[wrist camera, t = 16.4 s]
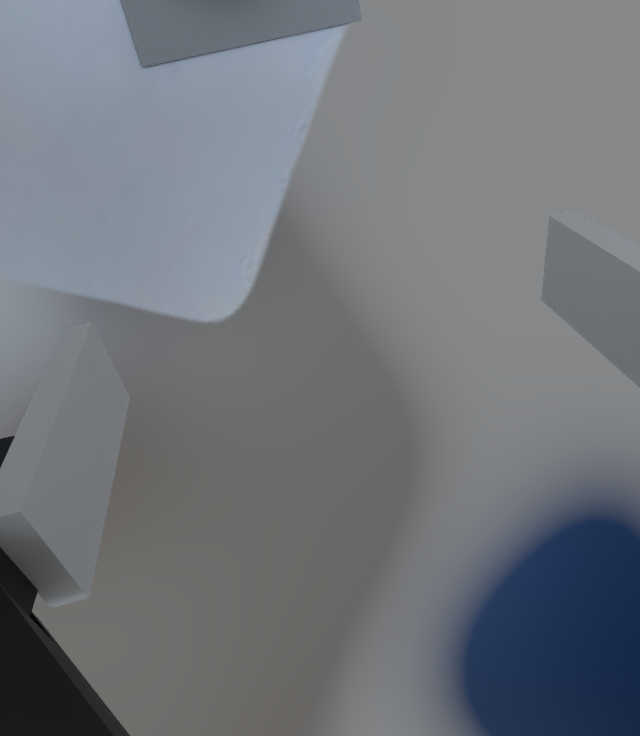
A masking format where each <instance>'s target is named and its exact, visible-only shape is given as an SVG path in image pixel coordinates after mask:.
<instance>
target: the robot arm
mask: <svg viewBox="0 0 640 736" xmlns="http://www.w3.org/2000/svg"><path fill="white" fill-rule="evenodd" d="M541 300H542V301H543V302H544V303H545V304H546V305H547V306H548V307H550V308H551V309H552V310H553V311H554V312H555V313H556V314H557V315H559V316H560V317H561V318H562V319H563V320H564V321H565V322H566V323H568V324H569V325H570V326H571V327H572V328H573V329H574V330H575V331H577V332H578V333H579V334H580V335H581V336H582V337H583V338H585V339H586V340H587V341H588V342H589V343H590V344H591V345H592V346H593V347H595V348H596V349H597V350H598V351H599V352H600V353H601V354H603V355H604V356H605V357H606V358H607V359H608V360H609V361H610V362H611V363H613V364H614V365H615V366H616V367H617V368H618V369H619V370H620V371H622V372H623V373H624V374H625V375H626V376H627V377H628V378H629V379H631V380H632V381H633V382H634V383H635V384H636V385H637V386H638V387H640V246H639V245H637V244H635V243H633V242H632V241H630V240H628V239H626V238H625V237H623V236H621V235H619V234H617V233H616V232H614V231H612V230H610V229H608V228H607V227H605V226H603V225H601V224H600V223H598V222H596V221H594V220H592V219H591V218H589V217H587V216H585V215H583V214H582V213H580V212H578V211H576V210H572V211H568V212H563V213H559V214H554V215H550V216H549V225H548V234H547V245H546V255H545V267H544V276H543V287H542V297H541ZM129 400H130V398H129V395H128V393H127V391H126V389H125V387H124V385H123V383H122V381H121V379H120V377H119V375H118V373H117V371H116V369H115V367H114V365H113V363H112V361H111V359H110V357H109V355H108V353H107V351H106V349H105V347H104V345H103V343H102V341H101V339H100V337H99V335H98V333H97V331H96V329H95V327H94V325H93V323H92V322H87V323H83V324H79V325H74V326H70V327H65V328H64V329H63V331H62V334H61V336H60V338H59V340H58V342H57V345H56V347H55V349H54V351H53V353H52V356H51V358H50V360H49V362H48V365H47V367H46V369H45V371H44V373H43V376H42V378H41V380H40V382H39V384H38V386H37V389H36V391H35V393H34V395H33V398H32V400H31V402H30V404H29V406H28V408H27V411H26V413H25V415H24V417H23V419H22V422H21V424H20V426H19V428H18V430H17V433H16V435H15V436H11V437H7V438H3V439H0V736H130V735H129V734H128V733H127V731H126V730H125V729H124V727H123V726H122V725H121V724H120V722H119V721H118V720H117V718H116V717H115V716H114V715H113V713H112V712H111V711H110V710H109V708H108V707H107V706H106V704H105V703H104V702H103V701H102V699H101V698H100V697H99V696H98V694H97V693H96V692H95V691H94V689H93V688H92V687H91V685H90V684H89V683H88V682H87V680H86V679H85V678H84V677H83V675H82V674H81V673H80V671H79V670H78V669H77V667H76V666H75V665H74V664H73V662H72V661H71V660H70V658H69V657H68V656H67V655H66V654H65V652H64V651H63V650H62V648H61V647H60V646H59V644H58V643H57V642H56V641H55V639H54V638H53V637H52V636H51V634H50V633H49V632H48V631H47V629H46V628H45V627H44V625H43V624H42V623H41V621H40V620H39V619H38V618H37V617H36V616H35V615H34V614H33V613H32V608H33V605H34V601H35V598H36V595H37V592H38V594H40V596H41V597H42V598H43V599H44V600H45V601H46V603H47V604H48V605H49V606H50V607H51V608H52V607H56V606H60V605H64V604H68V603H72V602H76V601H80V600H84V599H88V598H89V595H90V590H91V585H92V581H93V576H94V570H95V566H96V561H97V556H98V551H99V547H100V542H101V537H102V532H103V527H104V522H105V517H106V512H107V508H108V503H109V498H110V493H111V488H112V483H113V478H114V473H115V469H116V464H117V458H118V454H119V449H120V444H121V439H122V434H123V429H124V425H125V420H126V414H127V409H128V405H129Z"/></svg>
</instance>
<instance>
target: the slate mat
mask: <svg viewBox="0 0 640 736" xmlns="http://www.w3.org/2000/svg"><path fill="white" fill-rule="evenodd" d="M120 1H121V4H122V8H123V11H124V14H125V17H126V20H127V23H128V26H129V29H130V32H131V35H132V39H133V42H134V45H135V48H136V51H137V54H138V57H139V60H140V63H141V66H142V67H147V66H151V65H156V64H160V63H165V62H170V61H174V60H179V59H184V58H188V57H193V56H198V55H202V54H207V53H211V52H216V51H221V50H225V49H230V48H235V47H239V46H244V45H249V44H253V43H258V42H262V41H267V40H272V39H276V38H281V37H286V36H290V35H295V34H300V33H304V32H309V31H314V30H318V29H323V28H327V27H332V26H337V25H341V24H346V23H350V22H355V21H359V20H361V15H360V6H359V0H120Z"/></svg>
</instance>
